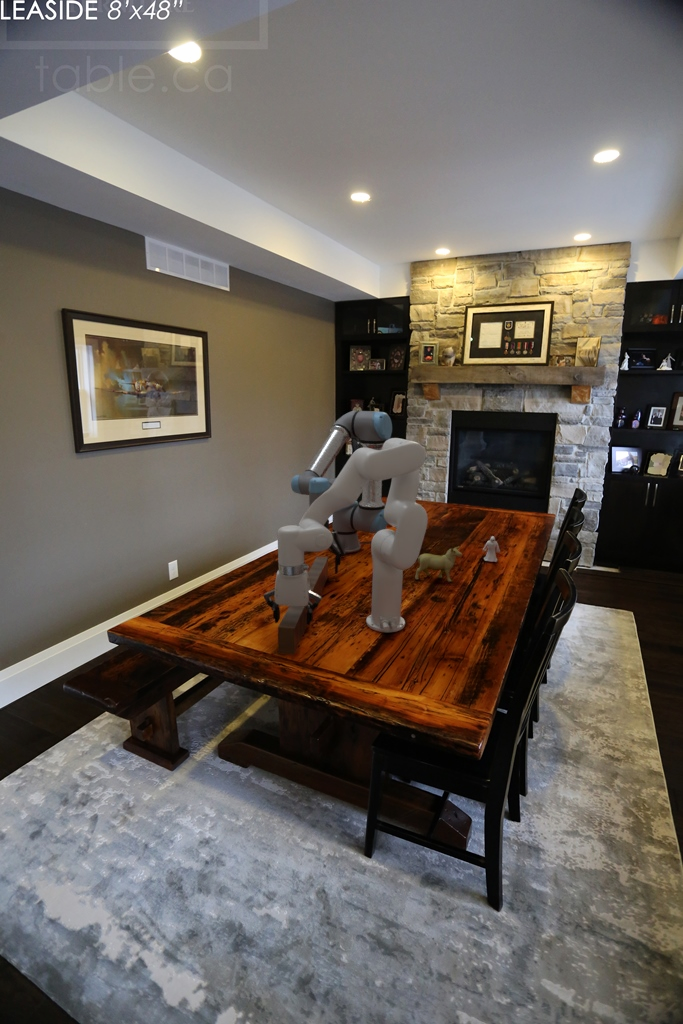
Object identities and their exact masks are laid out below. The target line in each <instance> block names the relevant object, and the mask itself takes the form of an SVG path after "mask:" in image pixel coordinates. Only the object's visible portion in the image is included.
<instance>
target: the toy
mask: <svg viewBox="0 0 683 1024" xmlns="http://www.w3.org/2000/svg"><path fill="white" fill-rule="evenodd" d="M460 548H461V546H460V545H459V546H456V547H453V548H449V549H448V550H447V551H446V553H445V554H442V555H437V554H432V553H422V554H419V556H418V558H417V561H418V564H419V567H418V568H417V569H416V573H415V576H414V579H415V580H416V581H420V578H419V575H420V573H421V572H423V573H425V575H426V576H427V577H428V578H429V577H430V572H429V571H428V570H427V569H429V570H432V571H440V572H439V574H438V578H439V579H443V574H445V576H446V581H447V583H449V584H451V583H453V581H452V579H451V577H450V571H451V570H452V568H454V565H455V562H456V557H458V558H461V557H462V556H463V553H462V552H461V551H459V549H460Z"/></svg>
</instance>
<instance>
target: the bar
mask: <svg viewBox="0 0 683 1024" xmlns="http://www.w3.org/2000/svg"><path fill="white" fill-rule="evenodd" d="M307 572H308V576H309V582H310V591H312V592H314V593H315V594H317V595H319V596H321V594H322V592H323V590H324V587H325V586H326V582H327V580H328V578H329V557H328V556H327V557H326V556H316V557H315V559H314V561H313V563H312V564H311V565H310V567H309V570H308V571H307ZM309 601H310V602H311V603H312V604H313V603H314V602H315V601H316V600H315V599H313V598H310V600H309ZM307 611H308V610H307V609H306V608H305V607H304V606H288V607H287V610H286V612H285V614H284V615H283V617H282V619H281V621H280V623H279V624H278V626H277V650H278V651H277V652H278V654H282V655H290V656H291V655H292V656H294V655H296V652H297V649H298V647H299V645H300V644H301V643H300V642H301V641H302V638H303V636H304V633H305V631H306V630H307V627H308V625H307Z"/></svg>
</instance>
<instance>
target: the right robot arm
mask: <svg viewBox="0 0 683 1024" xmlns="http://www.w3.org/2000/svg"><path fill="white" fill-rule="evenodd" d="M426 457H427V455H426V449H425V448H424V447H423V445H422V444H420V443H419V442H417V441H414V440H409V439H404V438H399V437H390V438H389V439H388V440H387V441H385V443H384V444H383V447H382V450H374V449H370V448H363V447H359V448H357V449H356V450H355V451H354V452H353V453H351V455H350V456H349V458H348V459H347V461H346V463H345V464H344V465H343V467H342V469H341V470H340V472H339V474H338V475H337V477H335V478H336V480H335V481H334V483H333V484H332V486H331V487H330V488H329V489H328V490H327V491H325V492H324V493H323V494H322V495H321V496H320V497H318V498H317V499H316V500H315V501H314V502H313V503H312V504H311V505H310V507H309V506H308V508H307V509H306V511H305V512H304V514H303V515H302V517H301V519H300V521H299V523H298V525H293V524H289V525H283V526H281V527H279V528H278V530H277V534H276V535H277V560H278V561H277V562H278V570H277V572H276V575H275V576H276V577H275V582H274V589H272V590H270V591H268V592H265V593H264V594H263V598H264V600H265V602H266V604H267V605H268V607H270V608H271V609H270V610H272V619H273V620H274V624H278V623H279V621H280V619H281V608H280V606H285V607H289V606H304V607H305V608H306V609H307V610H308V611H307V626H310V624H311V622H313V621H314V613H313V612H314V611H315V610H316V608H318V607H319V604H320V603H321V601H322V599H323V597H322V596H321V595H320V596H319V595H317V594H315V593H314V592H312V591H310V582H309V576H308V572H309V570H310V568H311V565H309V564H307V563H306V561H305V552H312V553H319V552H320V553H321V552H324V551H327V550H329V549H328V548H329V547H330V546H331V544H332V542H333V537H332V534H331V532H332V531H330V529H329V530H328V529H327V528H326V527H324V524H325V523H326V521H327V520H330V519H329V518H330V517H332V516H333V513H334V512H336V511H337V510H339V509H341V508H345V507H348V506H350V505H353V504H354V503H355V502H356V501H358V499H359V497H360V496H361V494H362V491H363V490H364V488H365V487H366V485H367V484H368V482H369V481H370V480H373V481H381V480H382V481H385V480H390V479H391V482H390V487H389V491H388V495H387V498H386V501H385V507H384V508H385V509H384V519H385V521H386V522H387V523H388V524H387V525H390V526H391V527H393V528H395V529H396V530H393V529H390V528H385V529H382V530H380V531H378V532H377V533H376V534H375V533H374V535H373V537H372V539H371V541H372V542H370V543H371V544H370V551H371V558H372V560H371V561H372V585H371V586H372V587H371V607H370V609H371V613H370V615H368V616H367V617H366V621H365V622H366V623H365V624H366V625H367V627H368V628H369V629H372V630H373V631H376V632H379V633H396V632H398V631H402V630H403V629H404V628H405V626H406V620H405V618H403V617H402V615H401V614H402V599H403V598H402V597H403V580H404V570H408V569H411V567H413V566H414V565H415V564H416V562H417V561H418V557H419V556H420V553H421V549H422V545H423V542H424V540H425V539H424V538H425V535H426V531H427V527H428V514H427V511H426V509H425V508H424V507H423V505H421V504H420V503H418V502H416V501H417V497H418V492H419V487H420V479H421V477H420V471H419V469H420V468H422V467H423V465H424V463H425V461H426ZM273 596H274V600H273V599H272V598H271V597H273ZM310 598H313V599H315V600H316V601H315V602H314V603H313V604H312V603H311V602H310V601H309V600H310Z"/></svg>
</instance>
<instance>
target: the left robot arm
mask: <svg viewBox="0 0 683 1024" xmlns="http://www.w3.org/2000/svg"><path fill="white" fill-rule="evenodd" d="M392 434H393V423H392V419H391V417H390V416H389V414H388V413H387V412H385V411H377V410H376V411H373V410H352V411H349V412H347V413H345V414H343V415H342V416H340V417H339V418H338V419H337V420H336V421H335V422H334V423H333V424H332V426H331V427H330V429H329V435H328V436H327V437H326V439H325V440H324V442H323V443H322V445H321V446H320V448H319V449H318V451H317V452H316V454H315V455H314V457H313V458H312V459H311V461H310V463H309V464H308V466H307V467H306V468H305V470H304V472H302V474H295V475H294V476H293V477H292V479H291V481H290V488H291V490H292V492H293V493H295V494H298V495H303V496H304V495H305V496H308V504H309V505H308V508H309V507H310V505H311V504H312V503H313V502H314V501H315V500H316V499H317V498H318V497H320V496H321V495H322V494H323V493H324V492H325V491H327V490H328V489H329V488H330V487H331V486H332V484H333V483H334V481H335V480H336V478H337V477H334V478H327V477H324V476H325V474H326V473H327V471H328V470H329V468H330V467H331V465H332V464H333V462H334V460H335V459H336V458H337V456H338V455H339V453H340V451H341V450H342V448H343V447H344V445H345V444H347V443H349V442H350V441H351V439H353V438H357V439H359V444H360V445H361V447H362V448H370V449H374V450H382V447H383V444H384V443H385V441H387V440H388V439H391V438H392ZM382 486H383V480H381V481H373V480H370V481H369V482H368V484H367V485H366V487H365V488H364V490H363V491H362V493H361V494H362V495H361V500H360V501H359V502H358V500H356V502H355V503H354V504H353V505H350V506H348V507H345V508H341V509H339V510H337V511H336V512H334V513H333V514H332V526H331V527H332V528H331V529H332V531H330V519H328V520H327V521H326V523H325V524H324V527H326V528H327V529H328V530H329V531H330V532H331V534H332V537H333V542H332V544H331V546H330V547H329V548H328V549H327V550H328V551H330V552H332V553H333V554H334V555H335V557H334V575H337V574H338V572H339V566H340V565H341V564H342V557H345V556H346V555H350V554H355V553H358V552H360V551H361V546H362V545H361V544H370V543H371V542H372V540H368V541H359V536H358V531H359V532H364V533H369V534H374V535H375V534H376V533H377V532H378V531H380V530H382V529H387V526H388V525H389V524H388V523H387V522H386V521H385V519H384V509H385V505H386V503H385V502H384V501H383V500H382V493H383V492H382V491H383V489H382V488H383V487H382Z"/></svg>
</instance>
